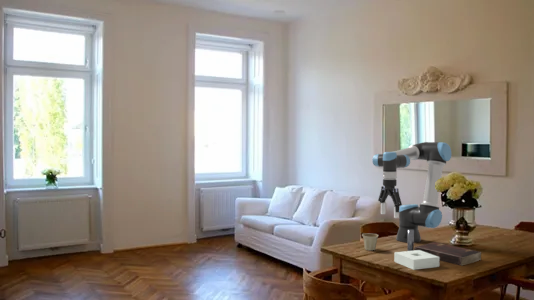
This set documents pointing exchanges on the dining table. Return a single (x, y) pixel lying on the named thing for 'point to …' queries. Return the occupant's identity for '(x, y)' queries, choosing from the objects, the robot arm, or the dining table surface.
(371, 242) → the flower pot
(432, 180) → the robot arm
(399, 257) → the bore block
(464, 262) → the hardback book
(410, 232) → the pin
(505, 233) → the dining table surface
